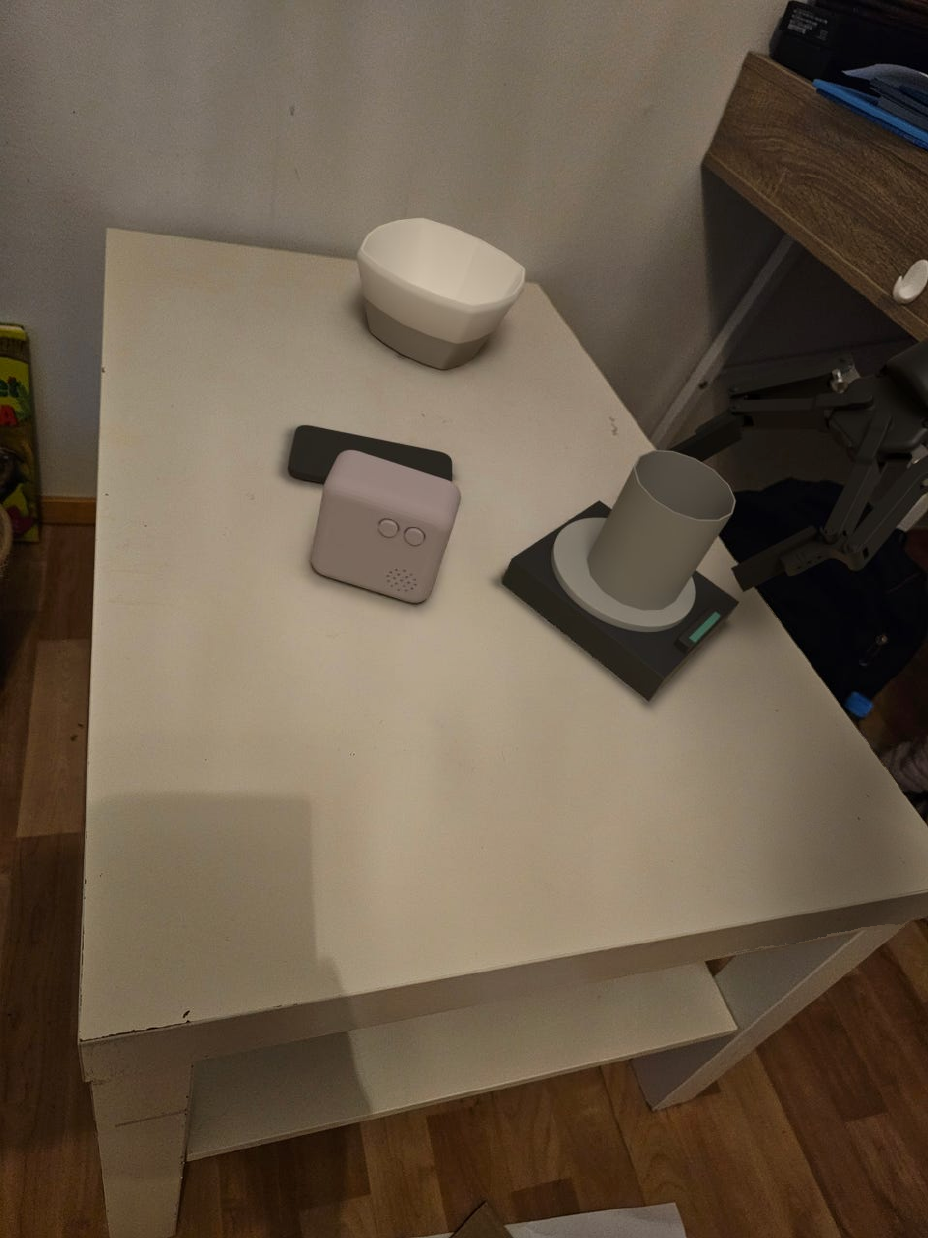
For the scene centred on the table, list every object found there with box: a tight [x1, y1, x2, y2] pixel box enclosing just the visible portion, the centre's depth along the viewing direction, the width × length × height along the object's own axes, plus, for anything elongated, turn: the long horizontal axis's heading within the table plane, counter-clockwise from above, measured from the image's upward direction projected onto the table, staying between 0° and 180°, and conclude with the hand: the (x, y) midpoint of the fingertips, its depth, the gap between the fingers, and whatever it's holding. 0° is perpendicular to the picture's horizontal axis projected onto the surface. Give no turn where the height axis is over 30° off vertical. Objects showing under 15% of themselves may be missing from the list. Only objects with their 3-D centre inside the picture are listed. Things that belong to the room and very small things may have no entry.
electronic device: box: [310, 450, 462, 604], centre depth 65 cm, size 10×5×10 cm, turn 80°
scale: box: [501, 499, 740, 702], centre depth 73 cm, size 16×14×4 cm
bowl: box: [356, 217, 527, 370], centre depth 93 cm, size 18×18×9 cm
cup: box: [587, 449, 737, 610], centre depth 68 cm, size 8×8×10 cm
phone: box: [287, 424, 453, 484], centre depth 77 cm, size 7×1×15 cm
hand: (699, 520), depth 68 cm, fingers open, 13 cm apart
